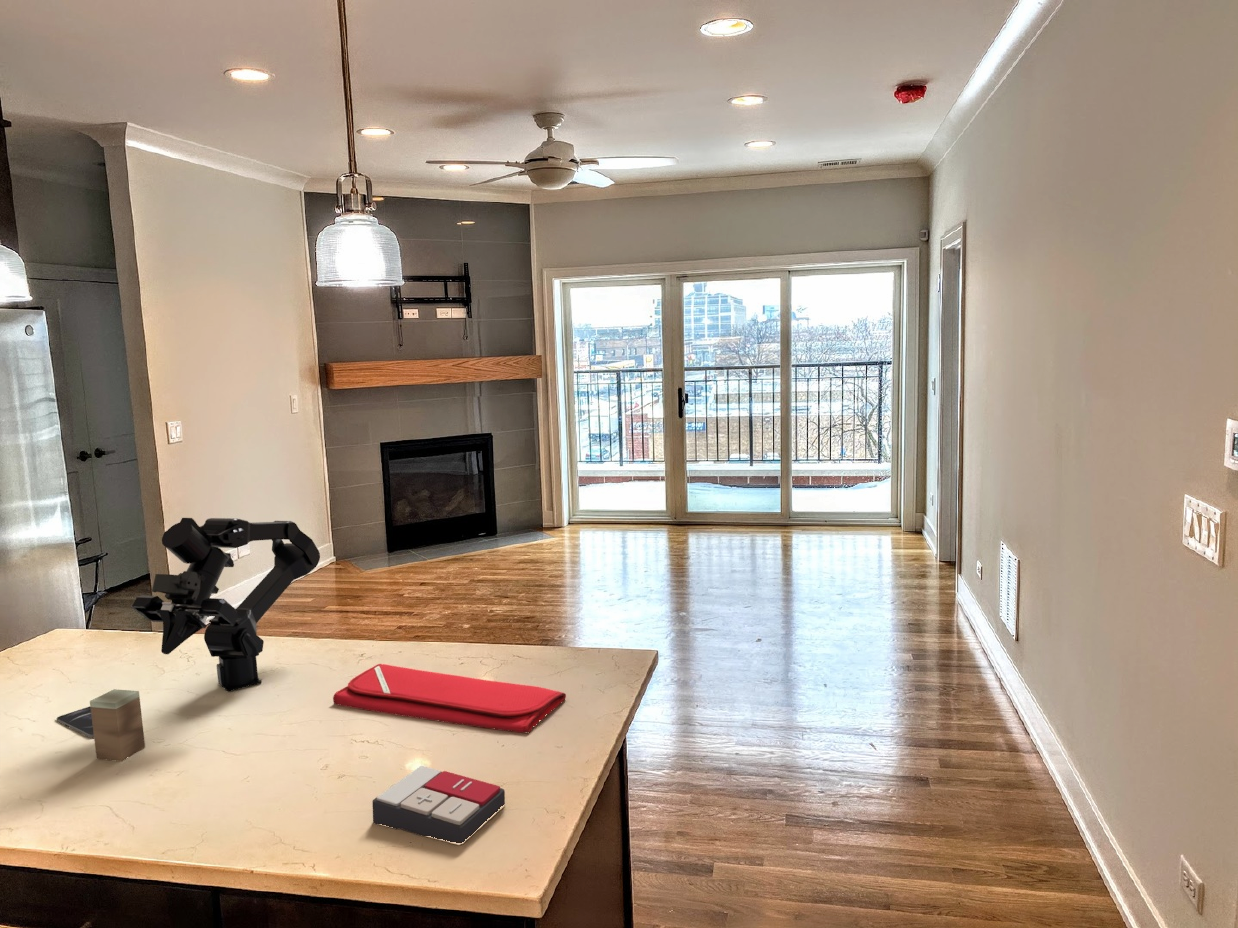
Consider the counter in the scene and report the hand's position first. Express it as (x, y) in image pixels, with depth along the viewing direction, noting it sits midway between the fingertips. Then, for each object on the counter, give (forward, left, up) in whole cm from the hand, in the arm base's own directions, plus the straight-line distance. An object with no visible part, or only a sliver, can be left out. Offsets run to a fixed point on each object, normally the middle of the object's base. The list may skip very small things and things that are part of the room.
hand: (164, 653), depth 154 cm
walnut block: (+9, +7, -13) cm, 18 cm away
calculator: (-22, +61, -14) cm, 66 cm away
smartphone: (+11, -11, -14) cm, 21 cm away
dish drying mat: (-41, +26, -14) cm, 51 cm away
